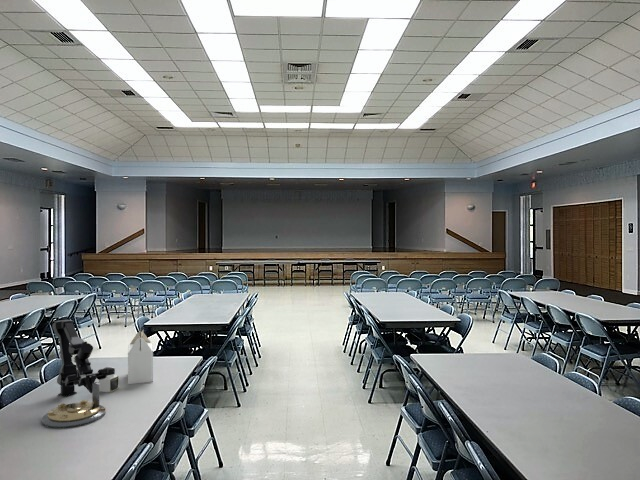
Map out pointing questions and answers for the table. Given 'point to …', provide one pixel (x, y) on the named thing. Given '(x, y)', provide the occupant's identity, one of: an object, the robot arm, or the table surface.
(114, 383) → the medicine bottle
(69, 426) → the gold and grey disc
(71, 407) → the gold wheel with handle
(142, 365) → the gable box
